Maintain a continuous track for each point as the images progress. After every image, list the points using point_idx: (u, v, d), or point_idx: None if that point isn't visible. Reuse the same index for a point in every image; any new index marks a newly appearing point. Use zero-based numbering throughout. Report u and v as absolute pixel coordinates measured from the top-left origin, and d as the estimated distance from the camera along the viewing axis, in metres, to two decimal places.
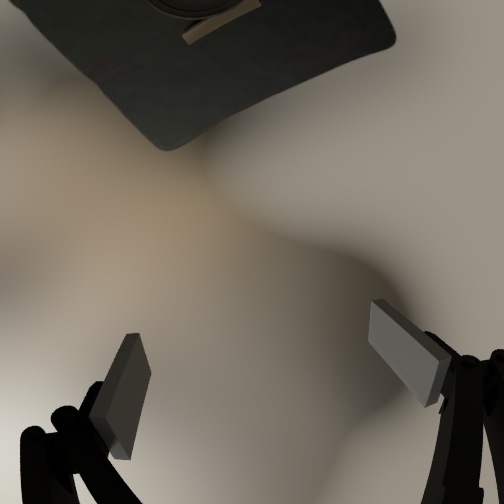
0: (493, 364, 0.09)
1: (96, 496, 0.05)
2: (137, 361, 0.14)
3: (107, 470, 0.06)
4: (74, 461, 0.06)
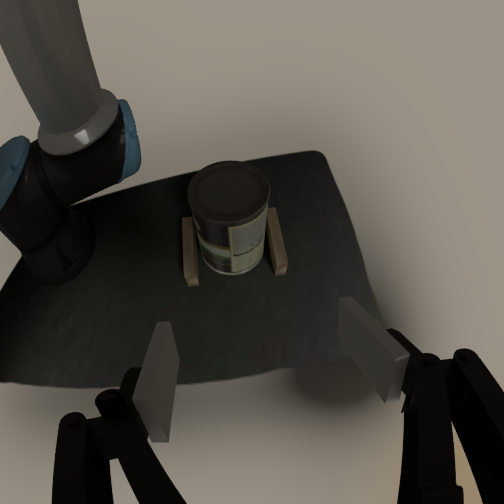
0: (457, 365, 0.09)
1: (131, 479, 0.06)
2: (169, 348, 0.15)
3: (146, 455, 0.07)
4: (113, 443, 0.08)
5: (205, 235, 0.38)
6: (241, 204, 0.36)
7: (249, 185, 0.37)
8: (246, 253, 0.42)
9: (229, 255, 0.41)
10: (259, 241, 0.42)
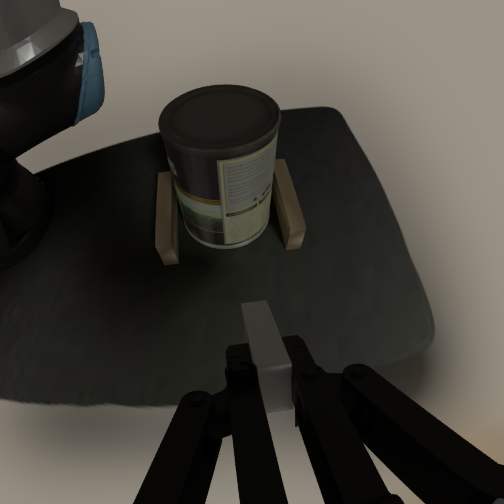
0: (350, 385, 0.10)
1: (237, 450, 0.08)
2: None
3: (261, 430, 0.08)
4: (231, 413, 0.09)
5: (184, 181, 0.25)
6: (238, 129, 0.22)
7: (250, 108, 0.23)
8: (245, 212, 0.28)
9: (220, 214, 0.27)
10: (264, 195, 0.28)
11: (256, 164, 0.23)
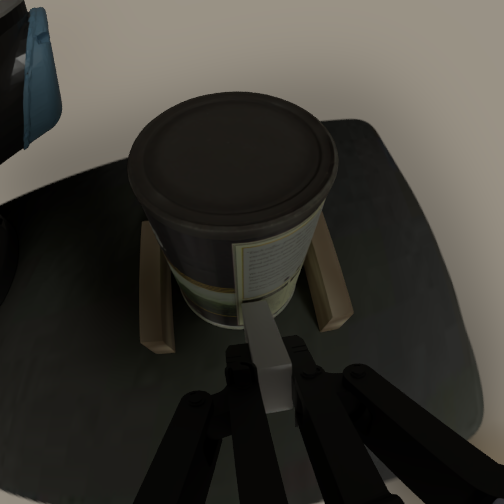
0: (350, 385, 0.10)
1: (237, 450, 0.08)
2: None
3: (261, 430, 0.08)
4: (231, 413, 0.09)
5: (176, 260, 0.15)
6: (268, 179, 0.13)
7: (284, 136, 0.14)
8: (270, 295, 0.19)
9: (234, 301, 0.18)
10: (299, 268, 0.19)
11: (297, 239, 0.14)
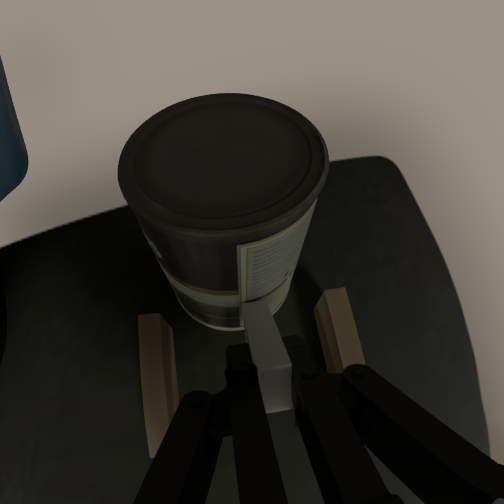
0: (350, 385, 0.10)
1: (237, 450, 0.08)
2: None
3: (261, 430, 0.08)
4: (231, 413, 0.09)
5: (177, 269, 0.15)
6: (264, 178, 0.13)
7: (272, 134, 0.14)
8: (272, 292, 0.19)
9: (237, 303, 0.18)
10: (296, 262, 0.19)
11: (297, 234, 0.14)
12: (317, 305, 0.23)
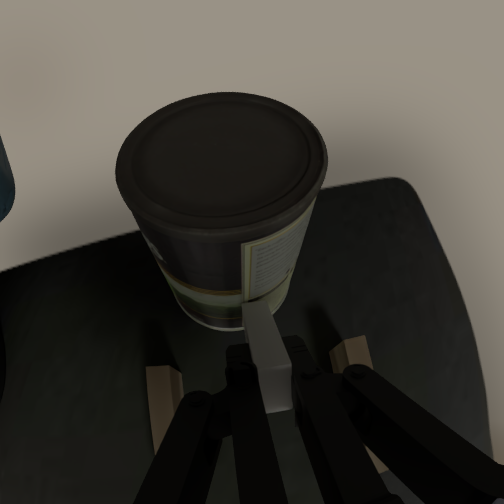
0: (350, 385, 0.10)
1: (237, 450, 0.08)
2: None
3: (261, 430, 0.08)
4: (231, 413, 0.09)
5: (179, 271, 0.15)
6: (265, 174, 0.13)
7: (269, 131, 0.14)
8: (274, 290, 0.19)
9: (240, 302, 0.18)
10: (296, 259, 0.19)
11: (299, 230, 0.14)
12: (334, 350, 0.21)
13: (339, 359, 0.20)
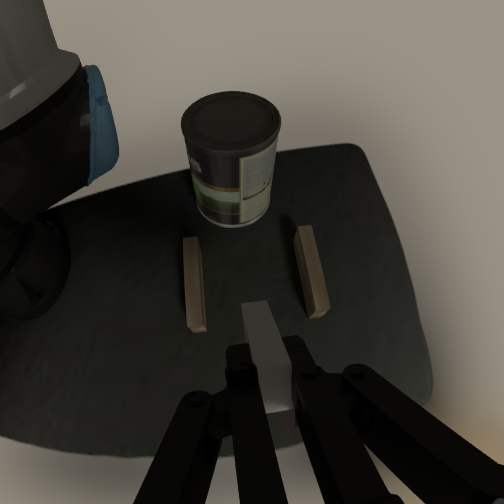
0: (350, 385, 0.10)
1: (237, 450, 0.08)
2: None
3: (261, 430, 0.08)
4: (231, 413, 0.09)
5: (209, 176, 0.30)
6: (251, 130, 0.28)
7: (254, 112, 0.29)
8: (257, 195, 0.34)
9: (238, 199, 0.33)
10: (270, 179, 0.35)
11: (267, 156, 0.29)
12: (294, 238, 0.37)
13: (297, 241, 0.36)
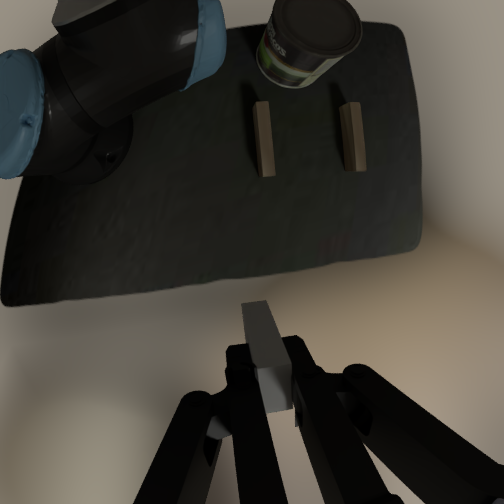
0: (350, 385, 0.10)
1: (237, 450, 0.08)
2: None
3: (261, 430, 0.08)
4: (231, 413, 0.09)
5: (291, 61, 0.29)
6: (338, 36, 0.25)
7: (339, 15, 0.24)
8: (322, 73, 0.33)
9: (307, 75, 0.33)
10: None
11: (344, 55, 0.28)
12: (343, 106, 0.39)
13: (345, 111, 0.38)
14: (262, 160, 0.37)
